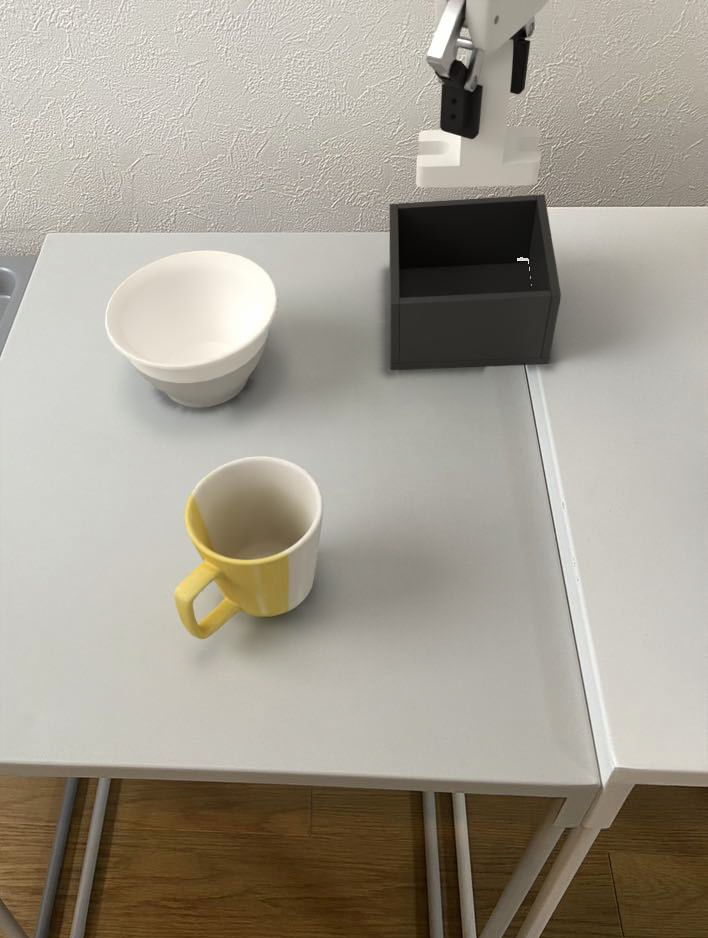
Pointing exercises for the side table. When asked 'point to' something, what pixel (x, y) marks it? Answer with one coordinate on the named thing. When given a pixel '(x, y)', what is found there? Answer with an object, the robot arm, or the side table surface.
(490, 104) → the cable organizer
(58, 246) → the side table surface
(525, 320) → the basket
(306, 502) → the mug
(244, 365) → the bowl
